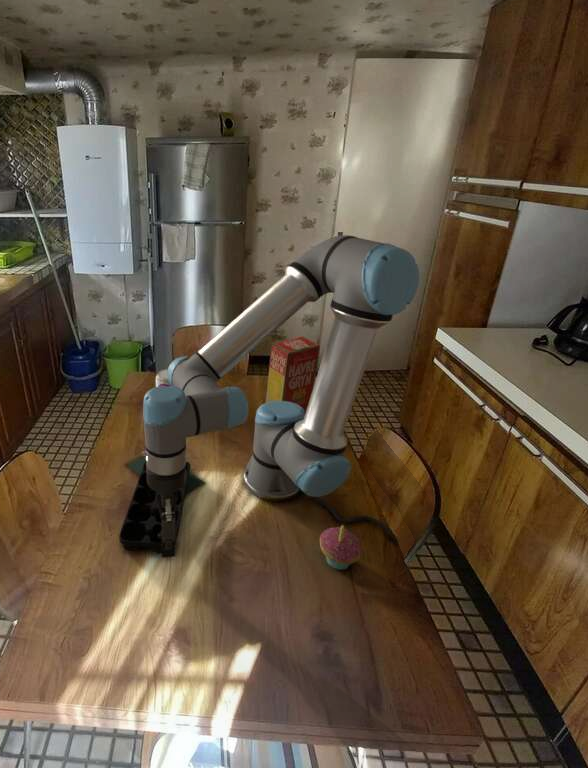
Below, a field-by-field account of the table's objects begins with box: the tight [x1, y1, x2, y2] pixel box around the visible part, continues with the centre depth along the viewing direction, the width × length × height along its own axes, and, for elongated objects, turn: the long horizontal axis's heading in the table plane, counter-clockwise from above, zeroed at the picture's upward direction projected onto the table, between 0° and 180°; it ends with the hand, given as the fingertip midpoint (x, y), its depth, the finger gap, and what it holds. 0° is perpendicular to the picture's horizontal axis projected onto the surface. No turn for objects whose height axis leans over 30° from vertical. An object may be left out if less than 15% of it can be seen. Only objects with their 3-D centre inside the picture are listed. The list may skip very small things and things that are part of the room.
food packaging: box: [265, 336, 321, 414], centre depth 144 cm, size 13×9×25 cm
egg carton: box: [118, 460, 191, 555], centre depth 106 cm, size 18×30×4 cm, turn 6°
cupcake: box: [319, 524, 363, 571], centre depth 91 cm, size 9×8×12 cm
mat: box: [126, 456, 206, 496], centre depth 118 cm, size 20×11×1 cm, turn 44°
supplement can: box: [155, 368, 172, 387], centre depth 143 cm, size 8×8×15 cm
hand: (168, 554), depth 92 cm, fingers closed
